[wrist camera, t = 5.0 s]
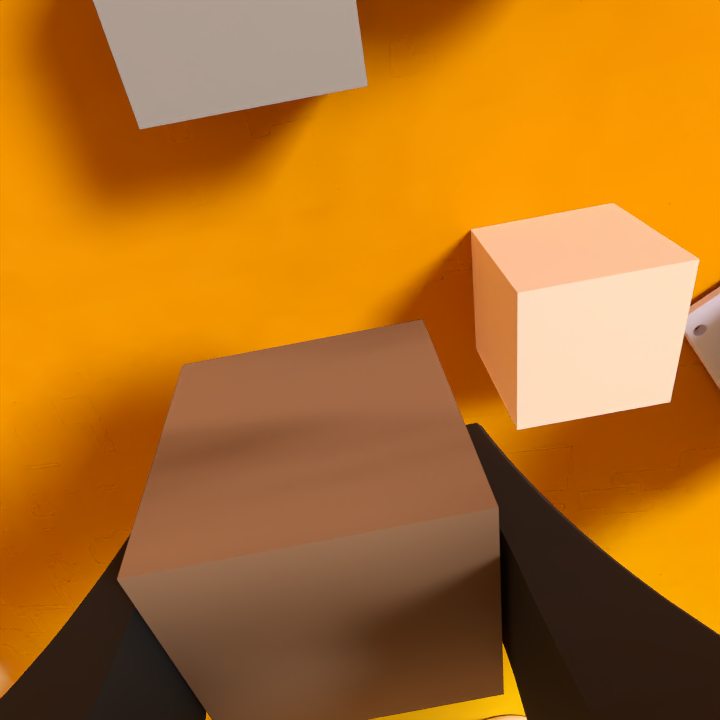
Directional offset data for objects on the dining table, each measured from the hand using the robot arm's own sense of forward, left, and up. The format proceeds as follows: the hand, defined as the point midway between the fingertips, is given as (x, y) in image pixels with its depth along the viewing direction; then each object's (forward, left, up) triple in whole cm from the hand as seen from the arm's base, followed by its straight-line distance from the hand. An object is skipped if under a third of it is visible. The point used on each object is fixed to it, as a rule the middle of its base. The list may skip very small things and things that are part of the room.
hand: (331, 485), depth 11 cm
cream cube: (-6, -6, -10) cm, 13 cm away
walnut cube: (0, 0, -2) cm, 2 cm away
